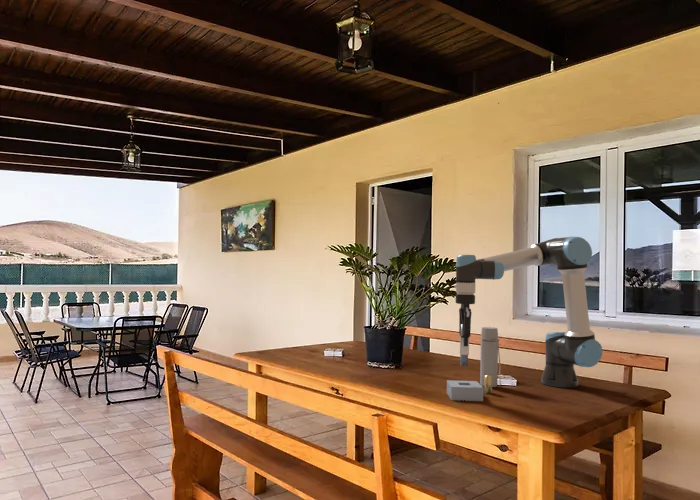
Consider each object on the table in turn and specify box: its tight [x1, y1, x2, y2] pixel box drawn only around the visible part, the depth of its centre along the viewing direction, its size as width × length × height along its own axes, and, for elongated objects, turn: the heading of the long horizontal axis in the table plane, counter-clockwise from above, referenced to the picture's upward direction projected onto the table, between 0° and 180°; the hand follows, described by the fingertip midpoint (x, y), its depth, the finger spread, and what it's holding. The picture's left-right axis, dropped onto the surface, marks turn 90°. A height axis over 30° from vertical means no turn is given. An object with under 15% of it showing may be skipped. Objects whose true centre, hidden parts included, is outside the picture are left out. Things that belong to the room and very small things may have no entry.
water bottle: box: [479, 326, 502, 389], centre depth 224 cm, size 9×8×25 cm
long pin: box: [459, 324, 469, 367], centre depth 204 cm, size 3×3×16 cm
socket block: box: [446, 379, 484, 402], centre depth 203 cm, size 12×12×5 cm
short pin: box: [483, 375, 493, 395], centre depth 211 cm, size 3×3×7 cm
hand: (464, 353), depth 204 cm, fingers closed on long pin, 3 cm apart
